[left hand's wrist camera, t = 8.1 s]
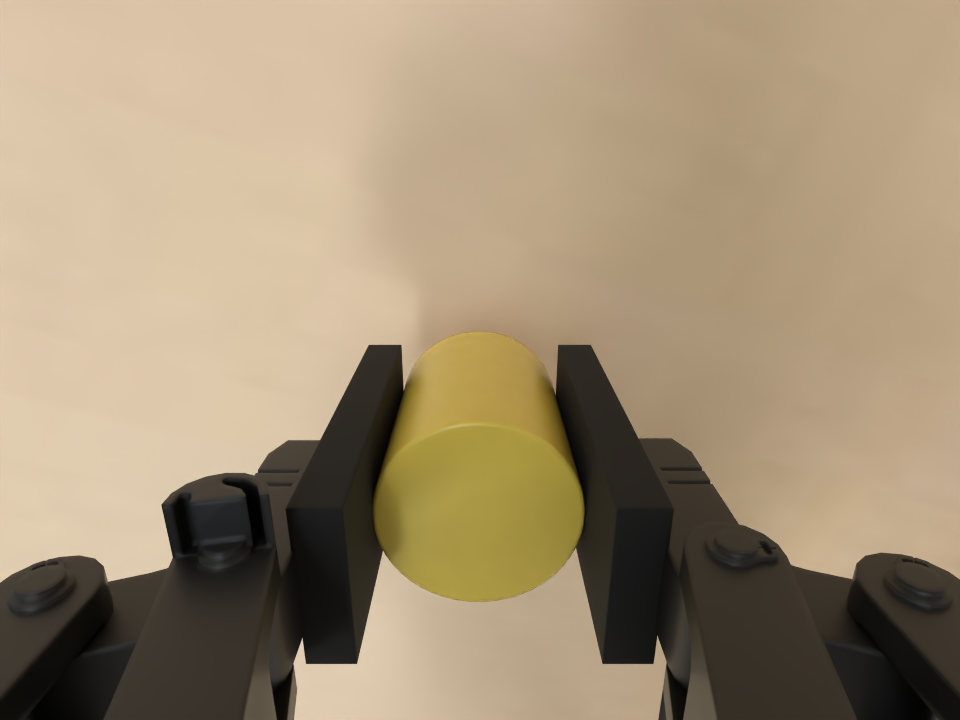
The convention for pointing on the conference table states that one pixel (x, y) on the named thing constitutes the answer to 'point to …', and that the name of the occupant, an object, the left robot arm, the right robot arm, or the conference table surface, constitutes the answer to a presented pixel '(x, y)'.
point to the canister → (478, 473)
